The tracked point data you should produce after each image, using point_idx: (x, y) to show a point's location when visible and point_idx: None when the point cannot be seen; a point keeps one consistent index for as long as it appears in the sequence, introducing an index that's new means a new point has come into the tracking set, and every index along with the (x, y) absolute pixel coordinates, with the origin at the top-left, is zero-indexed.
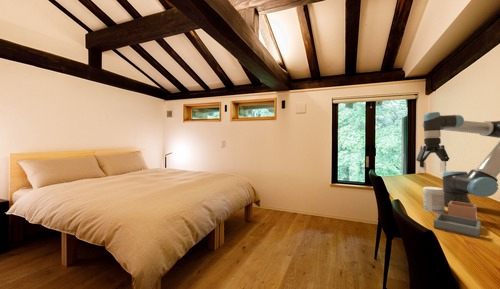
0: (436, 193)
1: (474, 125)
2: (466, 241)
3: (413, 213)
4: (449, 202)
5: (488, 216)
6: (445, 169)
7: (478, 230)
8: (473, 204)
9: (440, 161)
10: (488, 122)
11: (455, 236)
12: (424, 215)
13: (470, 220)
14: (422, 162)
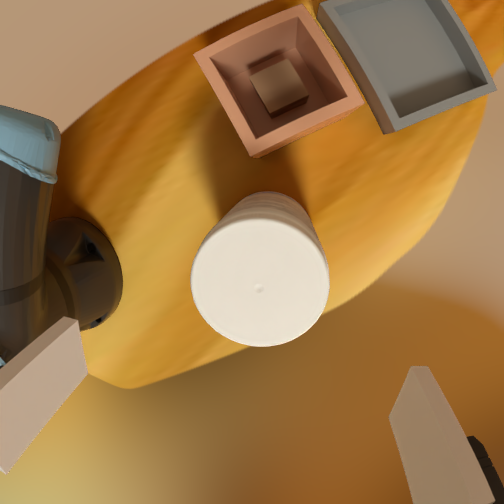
0: (301, 224)
1: None
2: (473, 4)
3: (396, 247)
4: (311, 125)
5: (100, 121)
6: (47, 334)
7: None
8: (210, 58)
9: (6, 463)
10: None
11: (473, 30)
12: (377, 208)
13: (345, 26)
14: (496, 501)
